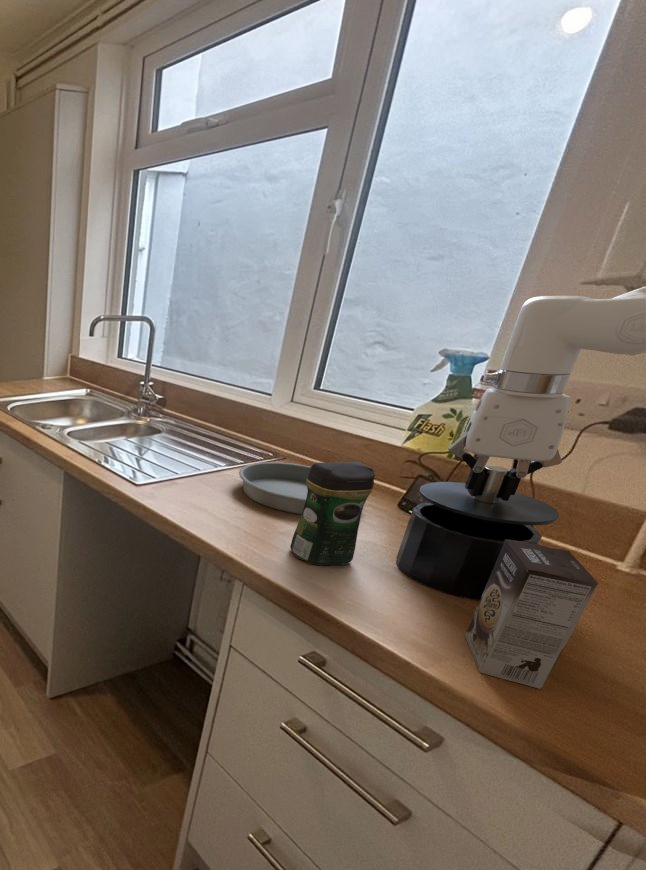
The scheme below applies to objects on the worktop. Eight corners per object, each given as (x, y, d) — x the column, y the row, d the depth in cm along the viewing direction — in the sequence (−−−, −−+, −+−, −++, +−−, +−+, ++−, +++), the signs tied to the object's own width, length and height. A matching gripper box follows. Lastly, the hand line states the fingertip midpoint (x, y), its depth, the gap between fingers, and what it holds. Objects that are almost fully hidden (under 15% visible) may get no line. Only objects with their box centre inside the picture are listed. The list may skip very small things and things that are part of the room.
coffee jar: (330, 545, 102) (355, 455, 95) (359, 566, 95) (389, 470, 88) (281, 547, 102) (303, 456, 95) (306, 568, 94) (332, 471, 87)
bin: (500, 567, 94) (523, 514, 90) (528, 612, 82) (556, 553, 78) (391, 545, 102) (408, 496, 98) (402, 584, 89) (421, 529, 85)
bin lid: (536, 498, 89) (551, 461, 87) (574, 538, 76) (594, 495, 73) (411, 482, 97) (422, 447, 95) (426, 515, 84) (439, 475, 81)
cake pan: (242, 511, 117) (246, 492, 116) (230, 474, 139) (233, 457, 137) (372, 525, 110) (378, 506, 108) (338, 484, 131) (342, 467, 130)
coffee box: (461, 635, 77) (503, 537, 71) (521, 650, 74) (570, 548, 67) (477, 673, 69) (525, 567, 63) (544, 691, 66) (602, 582, 60)
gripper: (463, 383, 80) (426, 494, 87) (620, 392, 72) (566, 514, 79) (453, 375, 86) (419, 480, 93) (596, 383, 78) (548, 497, 85)
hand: (487, 494), depth 86 cm, fingers closed on bin lid, 3 cm apart
